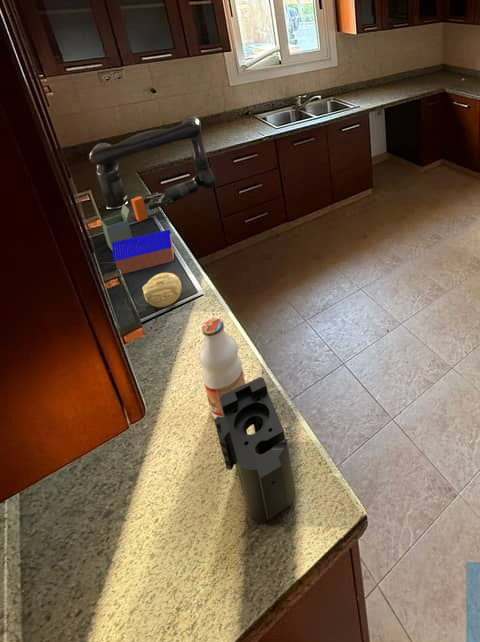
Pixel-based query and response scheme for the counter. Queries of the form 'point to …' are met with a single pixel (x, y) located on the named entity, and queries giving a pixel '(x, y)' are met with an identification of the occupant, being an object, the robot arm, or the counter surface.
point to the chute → (116, 229)
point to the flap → (125, 211)
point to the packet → (139, 208)
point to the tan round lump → (162, 289)
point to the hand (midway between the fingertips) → (144, 205)
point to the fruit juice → (219, 364)
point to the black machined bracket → (256, 449)
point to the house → (143, 251)
